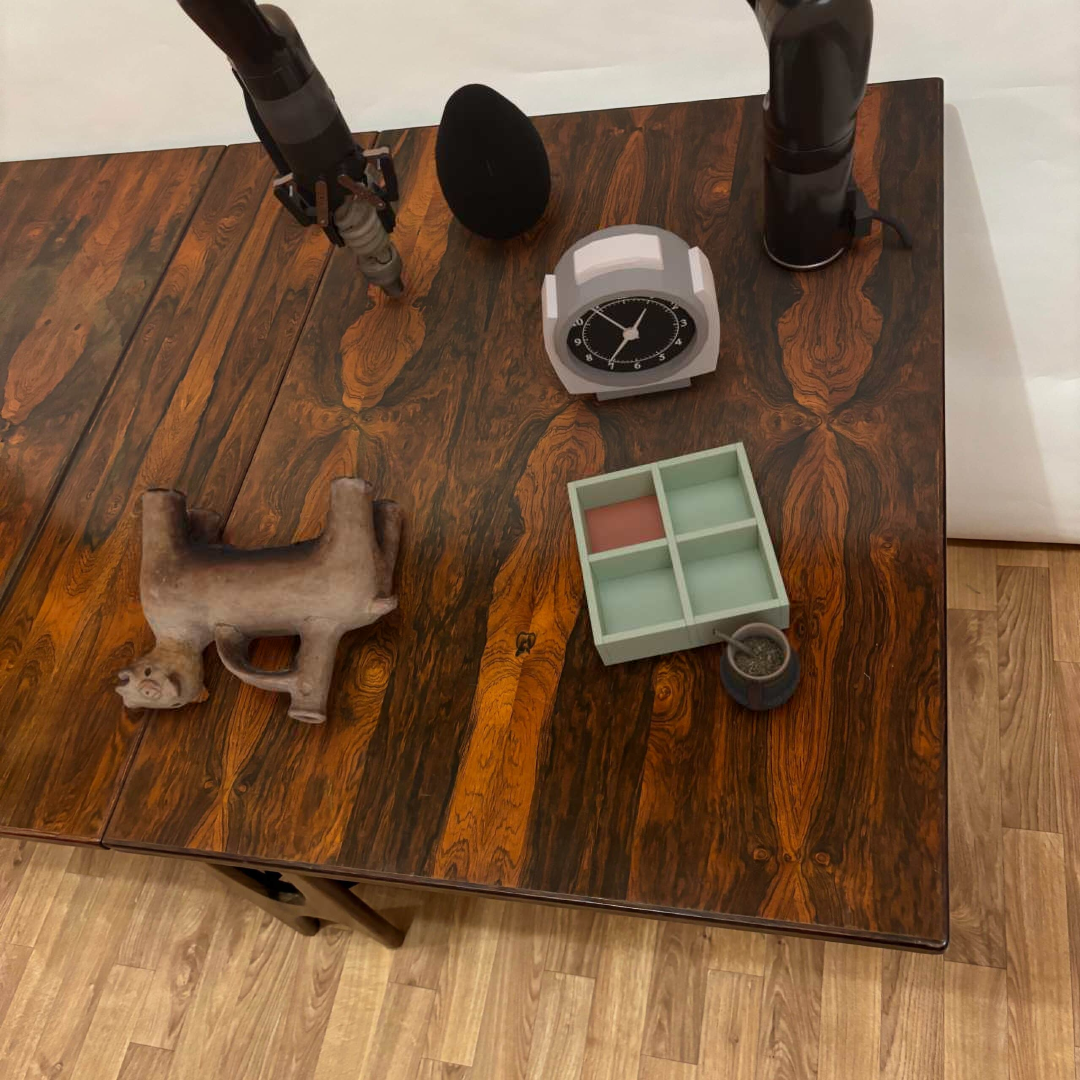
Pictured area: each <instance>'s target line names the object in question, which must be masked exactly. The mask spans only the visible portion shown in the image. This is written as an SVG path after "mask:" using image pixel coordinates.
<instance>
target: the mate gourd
mask: <svg viewBox="0 0 1080 1080" xmlns="http://www.w3.org/2000/svg"><path fill="white" fill-rule="evenodd" d="M712 635H714V636H717V637H718V638H720V639H722V640H724V641H723V642H726V647H725V648H724V649H723V651H722V652H721V657H720V660H719V669H718V670H719V677H720V681H721V683H722V686H723V687H724V689H725V691H726V692H727V694H728V695H729V696H730V697H731V698H732V699H733V700H735V702H737V703H738V704H740V705H742V706H743V707H745V708H748V709H750V710H753V711H766V710H769V709H774V708H777V707H780V706H781V705H784V704H785V703H786V702H787V701H788V700H789V699H790V698H791V697H792V696H793V695H794V693H795V691H796V690H797V689H798V686H799V683H800V679H801V665H800V659H799V656H798V654H797V653H796V651H795V649H794V648H793V646H792V644H791V641H790V640H789V637H788V636H787V634H786V633H785V632H784V631H783V629H779V628H778V627H776V626H774V625H772V624H769V623H766V622H752V623H748V624H745V625H743V626H741V627H739V628H738V629H737V630H735V631H734V632H733V634H732V635H731V636H730V637H729V636H727V635H726V634H724V633H723V632H722V633H720V632H719V631H718V630H716V629H714V628H713V630H712Z"/></svg>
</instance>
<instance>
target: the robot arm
mask: <svg viewBox="0 0 1080 1080" xmlns="http://www.w3.org/2000/svg"><path fill="white" fill-rule="evenodd" d="M175 1H176V3H177V4H178V6H179V7H180V8H181V10H182V11H183V12H184V13H185V15H187V17H188V18H189V19H190V20H191V21H192V22H193V23H194V24H195V25H196V26H197V27H198V28H199V30H201V31H202V33H204V35H205V36H206V37H208V38H209V40H210V41H211V42H212V43H213V44H214V45H215V46H216V47H217V48H218V49H219V50H220V51H221V52H222V53H224V55H225V56H226V55H227V56H228V57H229V58H230V60H231V62H232V64H233V66H234V67H235V69H236V71H237V73H238V74H239V76H240V78H241V79H242V81H243V83H244V85H245V86H246V88H247V90H248V91H249V93H250V95H251V97H252V99H253V101H254V104H255V106H256V109H257V111H258V113H259V115H260V117H261V119H262V120H263V122H264V124H265V126H266V127H267V129H268V131H269V132H270V134H271V136H272V137H273V139H274V141H275V143H276V144H277V146H278V148H279V149H280V151H281V153H282V155H283V156H284V158H285V160H286V161H287V163H288V165H289V166H290V168H291V169H292V173H290V174H288V175H286V176H283V175H281V174H280V173H278V174H277V173H276V174H275V175H274V176H273V196H274V197H275V198H276V199H277V200H278V201H279V202H280V203H281V204H282V206H283V207H284V208H285V209H286V210H287V211H288V212H289V213H290V215H292V217H294V219H295V220H296V221H297V222H298V224H300V225H301V227H303V228H309V227H311V226H312V225H318V226H319V227H320V228H321V229H322V230H323V232H324V234H325V236H326V237H327V239H328V240H329V243H331V244H332V245H333V246H334V245H337V248H339V249H340V248H344V247H346V244H345V243H344V241H343V237H341V236H340V235H339V233H338V226H336V225H335V224H334V222H333V215H334V214H333V213H332V212H329V211H328V199H329V200H330V201H332V200H335V199H337V198H339V197H341V196H344V197H345V196H352V195H356V196H357V197H358V199H359V198H361V199H362V200H363V201H368V202H369V203H370V204H372V205H373V206H374V207H375V208H376V212H377V214H378V216H379V218H380V220H381V222H382V224H383V226H384V228H385V230H386V232H387V234H390V235H391V234H392V233H393V234H394V232H395V231H394V228H396V227H397V220H396V219H397V218H396V213H395V211H394V209H393V207H392V205H391V202H393V203H394V202H398V201H399V199H400V193H399V182H398V177H397V172H396V167H395V164H394V159H393V154H392V151H391V146H390V144H389V143H388V142H381V143H379V145H378V148H373V149H365V148H364V147H363V146H361V145H360V144H359V143H357V141H356V139H355V137H354V136H353V134H352V132H351V129H350V127H349V125H348V123H347V121H346V118H345V116H344V115H343V113H342V111H341V108H340V106H339V105H338V102H337V100H336V97H335V94H334V93H333V91H332V88H330V87H329V85H328V83H327V81H326V78H325V77H324V76H323V74H322V73H321V71H320V70H319V68H318V67H317V65H316V64H315V62H314V60H313V59H312V57H311V54H310V53H309V50H308V49H307V46H306V44H305V42H304V41H303V38H302V37H301V34H300V32H299V30H298V28H297V26H296V24H295V23H294V20H293V19H292V18H291V17H290V16H289V14H288V13H287V12H286V11H285V10H284V9H283V8H281V7H280V6H278V5H276V4H273V3H259V4H257V2H256V0H175ZM745 1H746V3H747V4H748V6H749V7H750V9H751V10H752V12H753V14H754V16H755V18H756V20H757V23H758V27H759V29H760V32H761V35H762V38H763V41H764V44H765V46H766V50H767V52H768V53H767V54H768V70H769V74H768V75H769V76H768V79H769V81H768V82H769V84H768V87H769V88H768V90H767V92H766V93H765V96H764V99H763V102H762V143H763V145H762V146H763V147H762V148H763V149H762V151H763V192H764V193H763V197H764V198H763V199H764V200H763V203H764V206H763V207H764V209H763V210H764V235H763V245H764V251H765V254H766V255H767V257H768V258H769V260H770V261H771V262H772V263H774V264H775V265H776V266H778V267H780V268H782V269H784V270H788V271H792V272H799V273H800V272H801V273H802V272H803V273H804V272H813V271H818V270H821V269H823V268H826V267H827V266H829V265H832V264H833V263H834V262H836V261H837V260H838V259H839V258H840V257H841V256H842V255H843V253H845V252H849V251H852V250H853V245H854V244H853V243H854V240H859V239H863V238H865V237H870V236H871V235H872V228H873V220H876V221H878V222H881V223H884V224H887V225H889V226H890V227H891V228H893V229H894V230H895V232H897V234H898V236H899V238H900V239H901V241H902V243H903V245H904V246H905V247H909V246H911V245H912V244H913V243H914V239H913V238H912V236H911V234H910V231H909V229H908V228H907V227H906V226H905V224H904V223H903V222H902V221H901V220H900V219H898V218H897V217H895V216H894V215H892V214H889V213H886V212H883V211H880V210H877V209H874V208H872V207H871V206H870V205H869V202H868V200H867V198H866V195H865V193H864V190H863V188H862V187H859V185H858V182H857V180H856V178H855V175H854V173H853V172H854V171H853V170H854V158H855V149H856V148H855V146H856V134H857V123H858V114H859V113H858V112H859V109H860V107H861V105H862V104H863V101H864V100H865V96H866V92H867V87H868V80H869V73H870V65H871V59H872V58H871V57H872V50H873V41H874V28H875V26H874V25H875V23H874V21H875V20H874V19H875V17H874V9H873V8H874V7H873V4H872V1H871V0H745ZM227 56H226V57H227ZM368 164H371V165H372V166H373V169H375V170H377V172H378V173H382V177H383V181H384V185H383V186H382V185H380V184H379V183H378V182H377V181H376V180H374V178H373V176H372V174H370V172H368V171H367V170H366V168H367V165H368ZM296 185H298V186H300V187H302V188H303V189H305V190H307V191H309V192H311V193H313V194H315V195H316V202H317V207H310V206H309V204H308V203H307V202H306V201H305V200H304V199H303V198H302V196H301V195H300V194H299V193H298V192H297V186H296Z"/></svg>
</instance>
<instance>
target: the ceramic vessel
mask: <svg viewBox="0 0 1080 1080" xmlns="http://www.w3.org/2000/svg"><path fill="white" fill-rule="evenodd" d="M329 489H330V490H329V500H328V510H327V514H326V518H325V522H324V527H323V531H322V532H321V533H320V534H319V535H317V537H312V538H309V539H305V540H298V541H294V542H293V543H288V544H276V545H275V544H273V545H267V546H263V547H260V546H259V547H257V546H249V547H248V546H247V547H246V546H245V547H238V546H237V545H235V544H233V543H232V542H228V543H220V535H219V531H220V530H219V527H220V524H221V522H222V520H223V517H222V516H223V515H221V514H220V513H219V512H217V511H216V510H215V509H209V508H204V507H187V498H188V496H187V495H186V494H184V492H183V491H180V490H177V489H172V488H164V487H155V488H148V489H147V491H146V492H144V493H143V494H142V495H141V496H142V497H141V498H142V502H141V503H142V521H141V522H142V526H141V530H142V531H141V539H142V555H141V563H140V570H139V571H140V572H139V600H140V604H141V608H142V613H143V616H144V617H145V619H146V621H147V623H148V625H149V627H150V629H151V630H152V632H153V634H154V636H155V646H154V647H153V648H152V650H151V651H149V652H148V653H146V654H144V655H143V656H142V657H140V658H139V659H136V661H134V662H133V663H131V664H130V665H128V666H126V667H124V668H122V669H119V672H118V674H117V676H118V678H119V679H120V682H119V683H118V684H117V685H116V686H114V689H115V692H116V693H117V694H119V695H120V696H122V700H123V705H124V706H125V707H126V708H128V709H137V708H141V707H143V708H149V709H176V708H177V709H178V708H181V707H183V706H185V705H187V704H188V703H193V702H192V701H195V700H196V699H198V697H199V696H200V693H201V690H202V687H203V682H204V677H205V668H204V658H203V657H204V656H203V652H204V650H205V649H206V647H208V646H209V645H210V644H211V643H212V642H214V641H215V645H216V650H217V653H218V656H219V657H220V660H221V662H222V663H223V665H224V666H225V668H226V669H227V670H228V671H229V672H231V673H232V674H233V675H235V676H236V677H237V678H239V680H241V681H242V682H243V683H246V684H249V685H250V686H254V687H256V688H259V689H261V690H266V691H269V692H280V693H289V694H290V697H291V703H290V705H289V707H288V710H287V715H288V717H289V718H291V719H294V720H297V721H300V722H305V723H309V724H321V723H323V722H324V721H326V720H327V703H328V696H329V691H330V688H331V682H332V676H333V671H334V667H335V661H336V656H337V651H338V647H339V644H340V640H341V638H342V637H343V636H344V634H345V633H346V632H349V631H352V630H356V629H359V628H362V627H365V626H368V625H371V624H374V622H376V621H377V620H378V619H379V618H381V616H384V615H387V614H388V613H389V612H391V611H394V610H395V609H396V608H397V607H398V605H399V595H398V594H392V590H393V573H394V570H395V566H396V562H397V561H396V560H397V558H398V557H397V556H398V552H399V547H400V539H401V533H402V522H403V518H404V515H405V509H404V507H403V506H402V505H400V504H399V503H398V502H396V501H395V500H393V499H389V498H383V499H376V500H373V495H374V493H373V492H374V484H373V483H372V482H370V481H368V480H366V479H362V478H358V477H355V476H336V477H334V478H332V479H330V480H329ZM283 636H284V637H285V636H287V637H288V636H299V637H300V645H299V649H298V652H297V653H296V656H295V657H294V666H293V667H291V668H287V669H279V670H275V671H273V670H272V671H269V670H266V669H263V668H260V667H257V666H254V665H253V664H252V662H251V658H250V652H249V646H250V643H251V642H252V641H253V640H255V639H259V638H264V637H283ZM206 689H207V690H208V691H209V689H208V688H207V687H206ZM206 692H207V691H206ZM209 694H210V696H211V695H212V693H209ZM206 696H207V695H206ZM204 697H205V696H204Z"/></svg>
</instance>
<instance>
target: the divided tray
mask: <svg viewBox="0 0 1080 1080" xmlns="http://www.w3.org/2000/svg"><path fill="white" fill-rule="evenodd" d="M566 486H567V491H568V497H569V503H570V509H571V514H572V515H571V516H572V520H573V527H574V532H575V537H576V544H577V549H578V555H579V561H580V566H581V572H582V577H583V585H584V590H585V596H586V600H587V606H588V613H589V618H590V624H591V629H592V637H593V642H594V646H595V648H596V650H597V652H598V655H599V656H600V659H601V660H602V662H603V664H604V666H605V667H606V666H611V665H616V664H621V663H626V662H631V661H634V660H640V659H644V658H645V659H646V658H650V657H654V656H659V655H663V654H669V653H674V652H679V651H682V650H683V651H684V650H688V649H694V648H697V647H703V646H707V645H712V644H717V643H721V642H725V641H724V640H722V639H720V638H718V637H717V636H714V635H712V630H713V628H714V629H716V630H718V631H719V632H720V633H722V632H723V633H724V634H726V635H727V636H729V637H730V636H731V635H732V634H733V632H734V631H735V630H737V629H738V628H739V627H741V626H743V625H745V624H748V623H752V622H766V623H769V624H772V625H774V626H776V627H778V628H779V629H780V630H784V629H788V628H790V602H789V598H788V594H787V592H786V587H785V584H784V581H783V577H782V574H781V570H780V566H779V563H778V560H777V557H776V553H775V550H774V546H773V542H772V539H771V536H770V533H769V532H770V531H769V528H768V524H767V522H766V519H765V518H766V517H765V515H764V511H763V507H762V504H761V501H760V498H759V494H758V491H757V488H756V484H755V480H754V477H753V472H752V470H751V467H750V463H749V460H748V455H747V452H746V449H745V446H744V443H743V441H740V442H739V441H738V442H735V443H731V444H727V445H723V446H718V447H715V448H710V449H706V450H701V451H697V452H692V453H689V454H685V455H680V456H677V457H672V458H668V459H663V460H659V461H656V462H651V463H646V464H642V465H637V466H634V467H630V468H625V469H621V470H617V471H613V472H608V473H604V474H600V475H596V476H592V477H587V478H583V479H579V480H574V481H570V482H567V483H566Z"/></svg>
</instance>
